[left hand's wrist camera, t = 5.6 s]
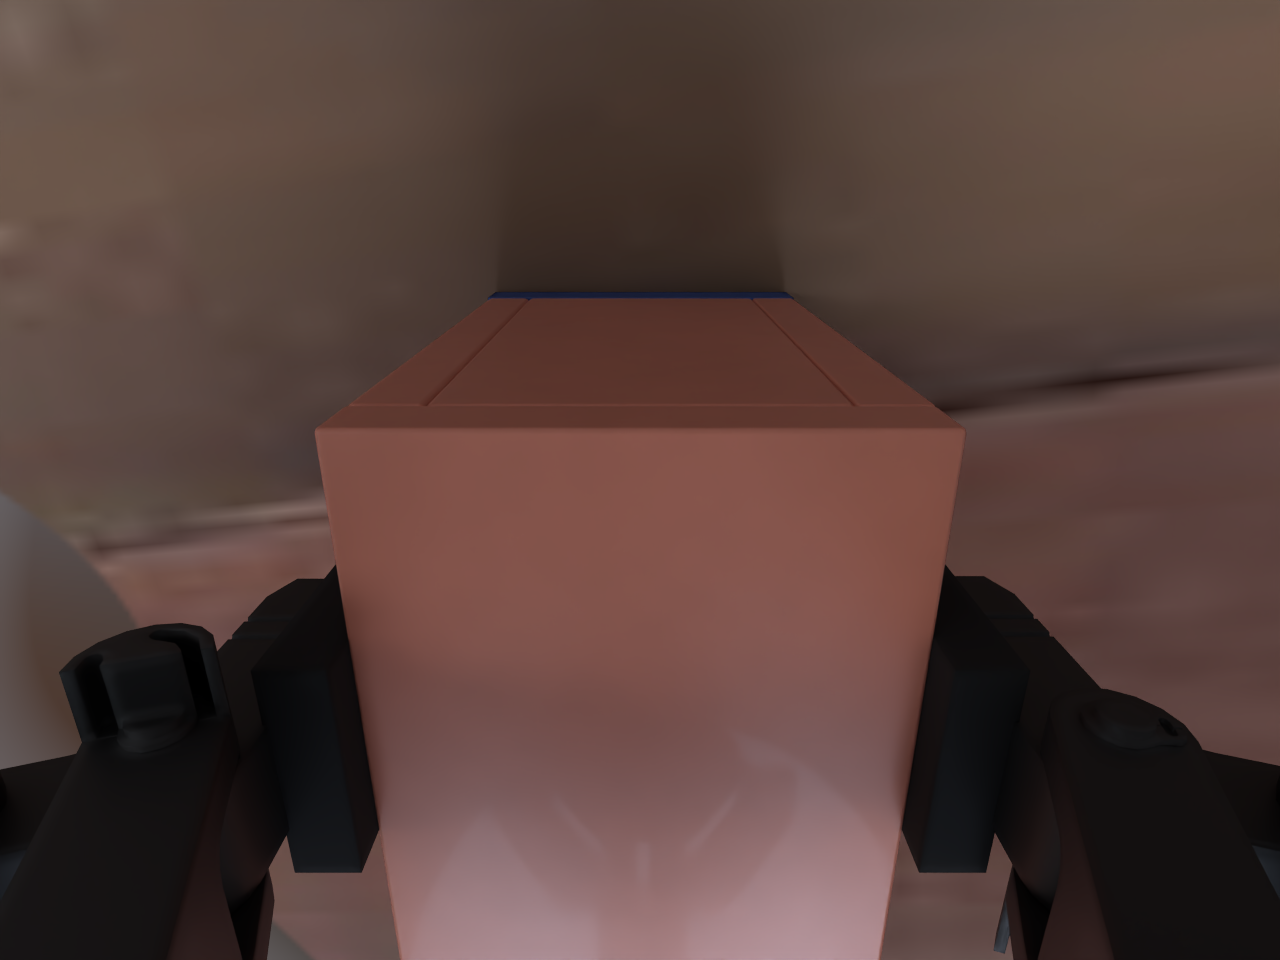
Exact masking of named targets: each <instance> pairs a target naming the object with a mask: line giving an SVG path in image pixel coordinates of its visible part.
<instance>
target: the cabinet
mask: <svg viewBox="0 0 1280 960" xmlns="http://www.w3.org/2000/svg"><path fill="white" fill-rule="evenodd" d="M315 437H316V444H317V450H318V456H319V462H320V468H321V474H322V481H323V487H324V493H325V499H326V505H327V511H328V517H329V524H330V530H331V536H332V542H333V548H334V554H335V561H336V567H337V573H338V579H339V585H340V591H341V598H342V604H343V610H344V616H345V622H346V628H347V634H348V641H349V647H350V653H351V659H352V665H353V671H354V678H355V684H356V690H357V696H358V702H359V708H360V714H361V721H362V727H363V733H364V739H365V745H366V751H367V758H368V764H369V770H370V776H371V782H372V788H373V794H374V801H375V807H376V813H377V819H378V825H379V831H380V838H381V844H382V850H383V856H384V862H385V868H386V874H387V881H388V887H389V893H390V899H391V905H392V911H393V918H394V924H395V930H396V936H397V942H398V948H399V955H400V960H880V959H881V953H882V947H883V941H884V934H885V928H886V922H887V916H888V910H889V904H890V898H891V892H892V885H893V879H894V873H895V867H896V861H897V855H898V849H899V843H900V837H901V830H902V824H903V818H904V812H905V806H906V800H907V794H908V788H909V782H910V775H911V769H912V763H913V757H914V751H915V745H916V739H917V733H918V726H919V720H920V714H921V708H922V702H923V696H924V690H925V684H926V678H927V671H928V665H929V659H930V653H931V647H932V641H933V635H934V629H935V622H936V616H937V610H938V604H939V598H940V592H941V586H942V580H943V574H944V567H945V561H946V555H947V549H948V543H949V537H950V531H951V525H952V518H953V512H954V506H955V500H956V494H957V488H958V482H959V476H960V470H961V463H962V457H963V451H964V445H965V439H966V430H965V428H964V427H962V426H961V425H960V424H958V423H957V422H956V421H954V420H953V419H952V418H950V417H949V416H948V415H946V414H945V413H944V412H942V411H941V410H940V409H938V408H936V407H935V406H934V405H933V404H932V403H931V402H929V401H928V400H927V399H925V398H924V397H923V396H921V395H920V394H919V393H917V392H916V391H915V390H913V389H912V388H911V387H909V386H908V385H907V384H905V383H904V382H903V381H901V380H900V379H899V378H897V377H896V376H895V375H893V374H892V373H891V372H889V371H888V370H887V369H885V368H884V367H883V366H881V365H880V364H879V363H877V362H876V361H875V360H873V359H872V358H871V357H869V356H868V355H867V354H865V353H864V352H863V351H861V350H860V349H859V348H857V347H856V346H855V345H853V344H852V343H851V342H849V341H848V340H847V339H845V338H844V337H843V336H841V335H840V334H839V333H837V332H836V331H835V330H833V329H832V328H831V327H829V326H828V325H827V324H825V323H824V322H823V321H821V320H820V319H819V318H817V317H816V316H815V315H813V314H812V313H811V312H809V311H808V310H807V309H805V308H804V307H803V306H801V305H800V304H799V303H797V302H796V301H795V300H794V298H793V297H792V296H790V295H789V294H788V293H786V292H495V293H494V294H493V295H491V296H490V297H489V298H488V301H487V302H485V303H484V304H483V305H481V306H480V307H479V308H477V309H476V310H475V311H473V312H472V313H471V314H469V315H468V316H467V317H465V318H464V319H463V320H461V321H460V322H459V323H457V324H456V325H455V326H453V327H452V328H451V329H449V330H448V331H447V332H445V333H444V334H443V335H441V336H440V337H439V338H437V339H436V340H435V341H433V342H432V343H431V344H429V345H428V346H427V347H425V348H424V349H423V350H421V351H420V352H419V353H417V354H416V355H415V356H413V357H412V358H411V359H409V360H408V361H407V362H405V363H404V364H403V365H401V366H400V367H399V368H397V369H396V370H395V371H393V372H392V373H391V374H389V375H388V376H387V377H385V378H384V379H383V380H381V381H380V382H379V383H377V384H376V385H375V386H373V387H372V388H371V389H369V390H368V391H367V392H365V393H364V394H363V395H361V396H360V397H359V398H357V399H356V400H355V401H353V402H352V403H351V404H349V406H347V407H344V408H343V409H341V410H340V411H339V412H337V413H336V414H335V415H333V416H332V417H331V418H329V419H328V420H327V421H325V422H324V423H323V424H321V425H320V426H319V427H317V428H316V430H315Z"/></svg>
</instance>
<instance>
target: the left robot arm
mask: <svg viewBox="0 0 1280 960" xmlns="http://www.w3.org/2000/svg"><path fill="white" fill-rule="evenodd" d="M59 674H60V677H61V680H62V683H63V686H64V689H65V692H66V695H67V698H68V701H69V704H70V707H71V710H72V713H73V716H74V719H75V722H76V726H77V729H78V732H79V734H80V738H81V741H82V744H81V746H80V748H79V750H78V751H77V753H76V754H73V755H70V756H65V757H60V758H55V759H51V760H45V761H41V762H36V763H31V764H26V765H21V766H16V767H11V768H6V769H1V770H0V960H267V954H268V946H269V939H270V931H271V923H272V916H273V908H274V894H273V887H272V882H271V877H270V873H269V869H268V868H269V866H270V864H271V863H272V861H273V859H274V857H275V855H276V853H277V852H278V850H279V848H280V846H281V844H282V842H283V841H284V839H285V837H286V835H287V839H288V843H289V848H290V852H291V857H292V861H293V866H294V871H295V873H362V870H363V868H364V865H365V863H366V860H367V858H368V856H369V853H370V851H371V848H372V846H373V843H374V841H375V838H376V836H377V833H378V831H379V825H378V819H377V813H376V807H375V801H374V794H373V788H372V782H371V776H370V770H369V764H368V758H367V751H366V745H365V739H364V733H363V727H362V721H361V714H360V708H359V702H358V696H357V690H356V684H355V678H354V671H353V665H352V659H351V653H350V647H349V641H348V634H347V628H346V622H345V616H344V610H343V604H342V598H341V591H340V585H339V579H338V573H337V567H336V565H335V566H334V567H333V569H332V570H331V571H330V572H329V574H328V575H327V576H326V577H325V579H296V580H295V581H293V582H291V583H289V584H288V585H286V586H284V587H283V588H281V589H279V590H278V591H276V592H274V593H272V594H271V595H269V596H267V597H266V598H265V599H264V601H263V602H262V603H261V604H260V605H259V606H258V607H257V608H256V609H255V610H254V612H253V613H252V614H251V615H250V616H249V617H248V622H244V623H243V624H242V625H241V626H240V627H239V628H238V629H237V630H236V631H235V632H234V634H233V635H232V639H228V640H227V641H226V642H225V644H224V645H223V646H222V647H221V648H220V649H219V650H218V651H217V649H216V645H215V641H214V637H213V634H211V633H210V632H208V631H207V630H206V629H204V628H203V627H201V626H195V625H190V624H184V623H175V624H160V625H152V626H148V627H144V628H139V629H135V630H130V631H126V632H124V633H121V634H119V635H116V636H113V637H111V638H108V639H106V640H103V641H101V642H98V643H96V644H95V645H93V646H91V647H90V648H88V649H86V650H85V651H83V652H81V653H80V654H78V655H76V656H75V657H73V659H72V660H71V661H70V662H69V663H68V664H67V665H66V666H65V667H64V668H63V669H62V670H61V671H60V672H59ZM902 831H903V834H904V836H905V839H906V841H907V844H908V846H909V849H910V851H911V853H912V856H913V858H914V861H915V863H916V866H917V868H918V871H919V873H986V870H987V865H988V861H989V856H990V852H991V847H992V843H993V838H994V834H995V833H996V835H997V837H998V839H999V840H1000V842H1001V844H1002V846H1003V848H1004V850H1005V851H1006V853H1007V855H1008V857H1009V859H1010V861H1011V862H1012V864H1013V865H1012V869H1011V873H1010V877H1009V882H1008V886H1007V890H1006V894H1005V899H1004V903H1003V907H1002V911H1001V915H1000V920H999V924H998V928H997V932H996V939H995V945H994V951H997V952H1001V953H1005V950H1006V946H1007V942H1008V938H1009V936H1010V937H1011V944H1012V952H1013V959H1014V960H1280V766H1277V765H1272V764H1267V763H1263V762H1258V761H1253V760H1248V759H1243V758H1238V757H1233V756H1228V755H1223V754H1218V753H1213V752H1209V751H1206V750H1202V748H1201V746H1200V744H1199V742H1198V741H1197V740H1196V738H1195V737H1194V736H1193V735H1192V733H1191V732H1190V731H1189V730H1188V729H1187V727H1186V726H1185V725H1184V724H1183V723H1181V722H1180V721H1179V720H1177V719H1176V718H1174V717H1173V716H1171V715H1170V714H1169V713H1167V712H1166V711H1164V710H1163V709H1161V708H1159V707H1157V706H1155V705H1152V704H1150V703H1148V702H1146V701H1144V700H1141V699H1139V698H1137V697H1135V696H1131V695H1127V694H1123V693H1119V692H1116V691H1112V690H1108V689H1101V688H1100V687H1099V686H1098V685H1097V684H1096V683H1095V682H1094V680H1093V679H1092V678H1091V677H1090V676H1089V675H1088V674H1087V673H1086V672H1085V671H1084V670H1083V668H1082V667H1081V666H1080V665H1079V664H1078V663H1077V662H1076V661H1075V660H1074V659H1073V658H1072V656H1071V655H1070V654H1069V653H1068V652H1067V651H1066V650H1065V649H1064V648H1063V647H1062V646H1061V644H1060V643H1059V642H1058V641H1057V640H1056V639H1055V638H1054V637H1050V636H1049V631H1048V630H1047V629H1046V628H1045V627H1044V626H1043V625H1042V624H1041V623H1040V621H1039V620H1038V619H1034V618H1033V614H1032V613H1031V612H1030V611H1029V609H1028V608H1027V607H1026V606H1025V605H1024V604H1023V603H1022V602H1021V601H1020V600H1019V599H1018V597H1017V596H1016V595H1015V594H1013V593H1012V592H1010V591H1008V590H1007V589H1005V588H1003V587H1001V586H1000V585H998V584H996V583H995V582H993V581H991V580H989V579H988V578H986V577H984V576H954V575H953V574H952V572H951V571H950V570H949V569H948V567H947V566H946V565H945V567H944V574H943V580H942V586H941V592H940V598H939V604H938V610H937V616H936V622H935V629H934V635H933V641H932V647H931V653H930V659H929V665H928V671H927V678H926V684H925V690H924V696H923V702H922V708H921V714H920V720H919V726H918V733H917V739H916V745H915V751H914V757H913V763H912V769H911V775H910V782H909V788H908V794H907V800H906V806H905V812H904V818H903V824H902Z"/></svg>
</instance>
